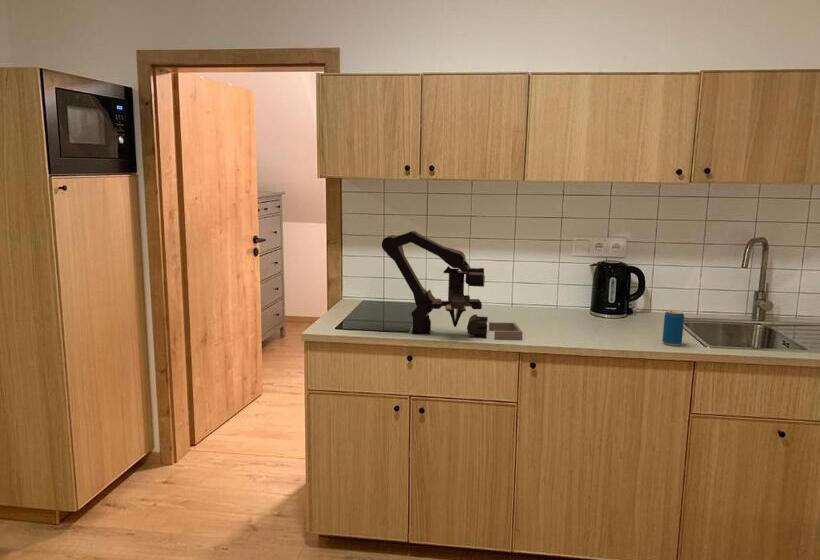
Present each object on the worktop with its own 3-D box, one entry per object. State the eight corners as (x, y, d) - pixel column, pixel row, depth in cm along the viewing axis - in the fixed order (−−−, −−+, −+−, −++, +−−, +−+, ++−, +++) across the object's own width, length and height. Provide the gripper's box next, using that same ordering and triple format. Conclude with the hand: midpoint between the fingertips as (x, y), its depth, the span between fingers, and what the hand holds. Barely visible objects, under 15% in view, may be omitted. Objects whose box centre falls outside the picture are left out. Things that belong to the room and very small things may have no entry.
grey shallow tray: (494, 339, 231) (495, 331, 230) (488, 329, 245) (489, 322, 244) (522, 339, 231) (522, 331, 231) (514, 330, 245) (514, 322, 245)
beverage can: (670, 340, 234) (673, 308, 231) (685, 345, 228) (688, 312, 226) (658, 342, 231) (661, 310, 228) (673, 347, 225) (676, 314, 223)
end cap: (468, 331, 243) (469, 313, 242) (487, 332, 242) (487, 314, 241) (466, 337, 233) (467, 319, 232) (486, 338, 232) (486, 320, 231)
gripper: (432, 289, 226) (431, 331, 229) (484, 289, 227) (483, 332, 229) (430, 283, 237) (429, 324, 240) (480, 284, 237) (478, 324, 240)
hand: (454, 326), depth 237 cm, fingers closed
